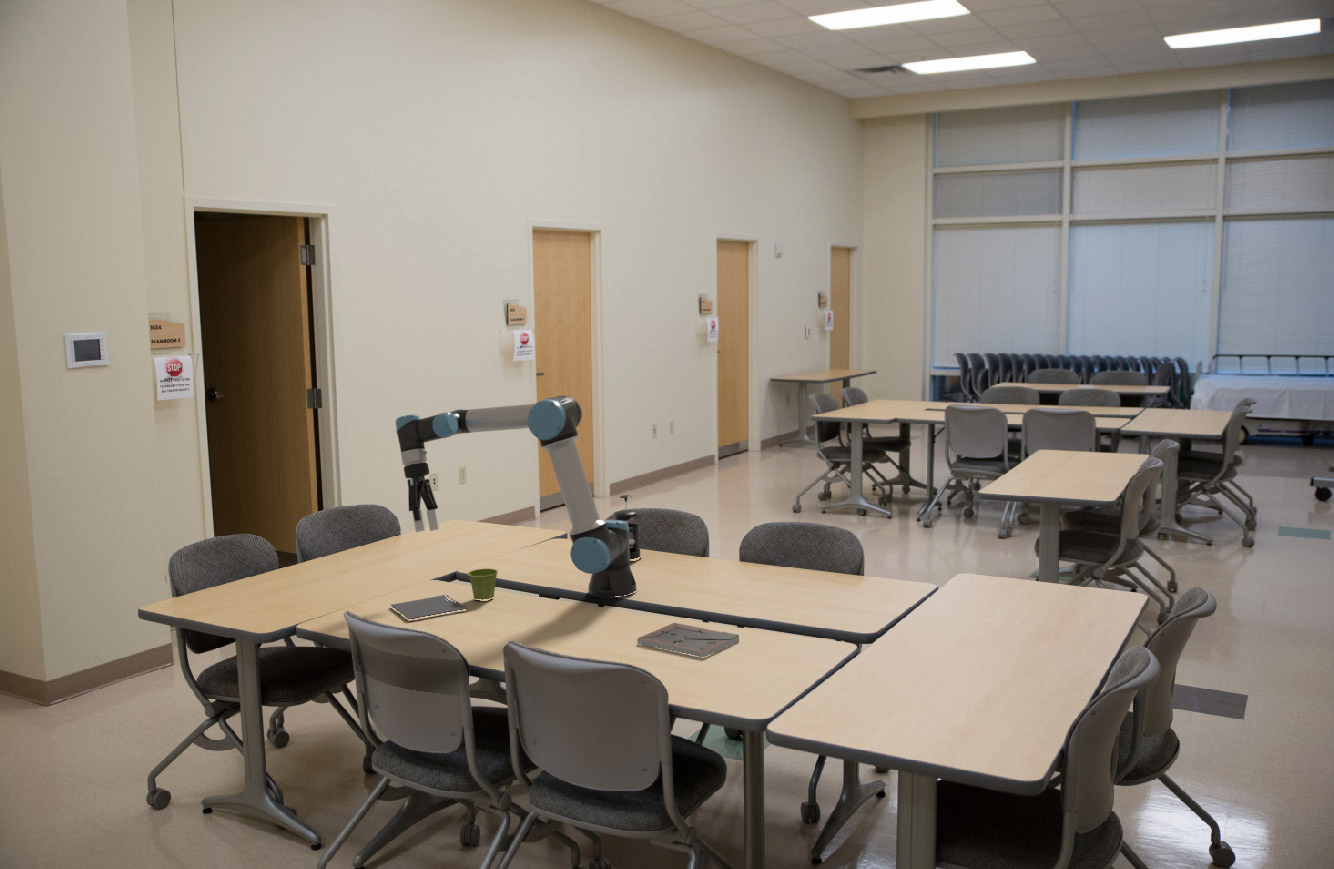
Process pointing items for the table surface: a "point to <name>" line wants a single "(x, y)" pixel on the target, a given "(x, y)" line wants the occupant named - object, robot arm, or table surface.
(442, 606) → the charcoal mat
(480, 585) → the plant pot
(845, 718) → the table surface
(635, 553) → the french press
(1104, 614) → the table surface
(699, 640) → the picture frame
